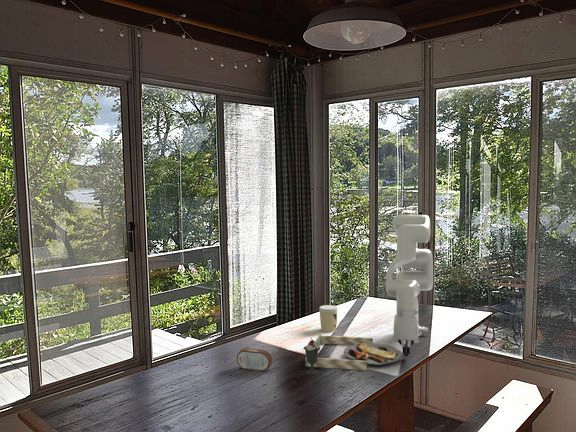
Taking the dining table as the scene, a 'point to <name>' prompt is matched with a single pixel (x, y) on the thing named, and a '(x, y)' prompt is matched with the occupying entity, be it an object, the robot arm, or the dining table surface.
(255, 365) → the tin
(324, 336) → the bay
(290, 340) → the dining table surface
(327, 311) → the coffee cup
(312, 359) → the sundae
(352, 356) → the food plate
